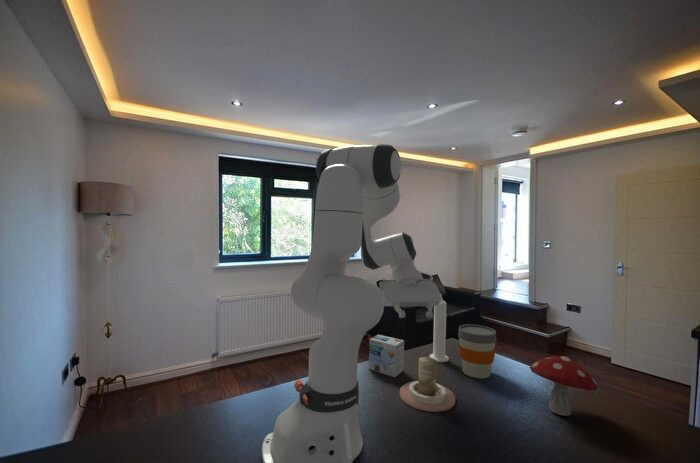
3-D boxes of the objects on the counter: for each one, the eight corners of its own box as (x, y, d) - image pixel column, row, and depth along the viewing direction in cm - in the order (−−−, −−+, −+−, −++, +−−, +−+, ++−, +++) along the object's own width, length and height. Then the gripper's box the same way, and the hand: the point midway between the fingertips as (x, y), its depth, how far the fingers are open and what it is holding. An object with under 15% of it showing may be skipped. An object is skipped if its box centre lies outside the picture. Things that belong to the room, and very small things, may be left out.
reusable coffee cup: (491, 366, 116) (492, 325, 116) (499, 383, 104) (500, 337, 104) (455, 362, 119) (456, 322, 119) (458, 378, 107) (460, 333, 107)
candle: (449, 363, 119) (451, 296, 118) (429, 361, 120) (431, 295, 120) (447, 355, 126) (449, 292, 125) (429, 354, 127) (430, 291, 127)
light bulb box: (367, 369, 112) (368, 338, 112) (377, 362, 118) (378, 333, 118) (395, 377, 106) (396, 345, 106) (404, 370, 112) (404, 340, 112)
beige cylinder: (424, 400, 91) (425, 365, 91) (414, 391, 96) (415, 358, 96) (439, 396, 93) (440, 362, 93) (428, 388, 98) (429, 355, 98)
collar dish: (419, 417, 84) (419, 408, 84) (389, 388, 99) (390, 380, 99) (467, 405, 90) (467, 397, 90) (433, 380, 105) (433, 373, 105)
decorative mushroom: (520, 393, 98) (522, 344, 98) (578, 399, 95) (580, 349, 95) (542, 424, 82) (543, 366, 82) (612, 433, 79) (614, 373, 79)
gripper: (380, 274, 107) (388, 312, 98) (436, 275, 111) (449, 312, 102) (375, 284, 111) (383, 321, 102) (429, 285, 116) (441, 321, 107)
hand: (416, 316), depth 102 cm, fingers open, 8 cm apart
